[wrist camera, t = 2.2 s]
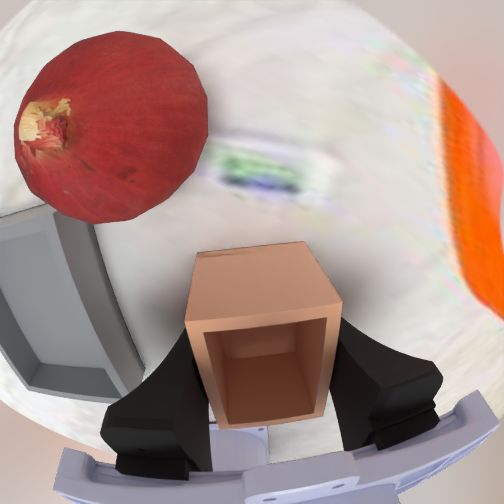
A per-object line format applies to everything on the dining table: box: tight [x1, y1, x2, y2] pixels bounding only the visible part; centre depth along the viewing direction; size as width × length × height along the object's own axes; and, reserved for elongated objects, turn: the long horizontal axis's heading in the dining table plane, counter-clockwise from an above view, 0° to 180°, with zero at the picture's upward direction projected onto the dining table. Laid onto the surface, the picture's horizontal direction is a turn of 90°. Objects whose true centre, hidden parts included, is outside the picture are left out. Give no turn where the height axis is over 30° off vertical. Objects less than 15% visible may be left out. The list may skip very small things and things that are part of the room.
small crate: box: [184, 242, 343, 430], centre depth 12 cm, size 7×5×5 cm
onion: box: [14, 31, 208, 224], centre depth 7 cm, size 6×6×8 cm
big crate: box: [0, 204, 145, 404], centre depth 12 cm, size 11×9×3 cm
